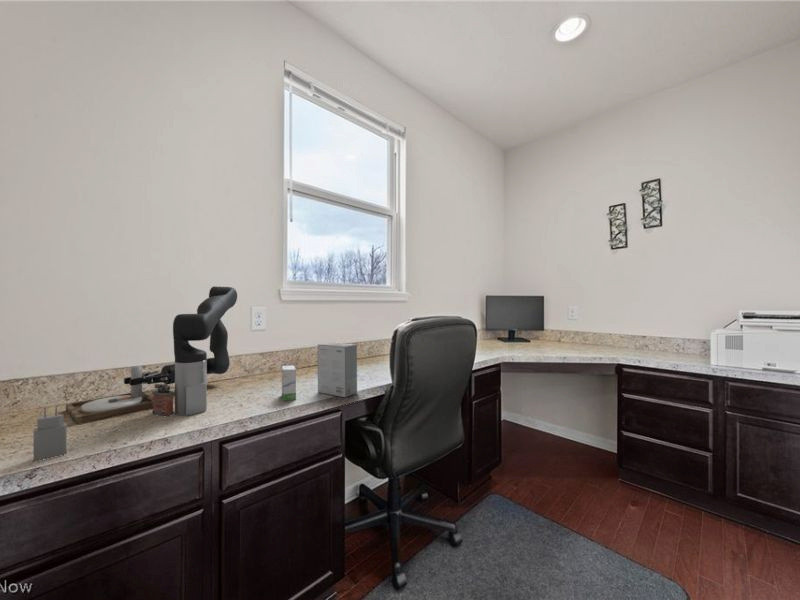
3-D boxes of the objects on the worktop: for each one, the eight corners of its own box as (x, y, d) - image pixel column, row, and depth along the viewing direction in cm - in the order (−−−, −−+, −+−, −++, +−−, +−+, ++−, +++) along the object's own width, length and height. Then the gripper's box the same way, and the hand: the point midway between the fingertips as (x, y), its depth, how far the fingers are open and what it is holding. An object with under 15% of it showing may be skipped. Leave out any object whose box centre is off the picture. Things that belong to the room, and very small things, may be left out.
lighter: (176, 413, 110) (176, 383, 110) (166, 417, 107) (166, 386, 107) (159, 411, 113) (159, 382, 113) (149, 414, 109) (149, 384, 110)
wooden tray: (158, 407, 117) (158, 401, 117) (76, 424, 100) (76, 417, 100) (141, 396, 130) (141, 391, 130) (65, 410, 113) (65, 404, 113)
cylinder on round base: (149, 404, 117) (149, 369, 117) (86, 417, 104) (86, 377, 104) (136, 396, 127) (136, 363, 127) (77, 406, 114) (77, 371, 114)
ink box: (296, 399, 126) (296, 368, 126) (282, 401, 124) (282, 369, 124) (294, 393, 134) (294, 364, 134) (281, 395, 132) (281, 365, 132)
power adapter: (34, 457, 79) (34, 407, 79) (66, 450, 83) (66, 403, 83) (33, 462, 77) (33, 411, 77) (66, 454, 81) (66, 405, 81)
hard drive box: (357, 393, 134) (357, 344, 134) (345, 398, 128) (345, 346, 128) (330, 388, 143) (330, 342, 143) (316, 392, 136) (316, 344, 136)
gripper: (168, 362, 137) (117, 369, 122) (188, 365, 131) (137, 373, 115) (168, 380, 137) (117, 389, 122) (188, 384, 131) (136, 395, 115)
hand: (127, 381), depth 119 cm, fingers open, 3 cm apart
